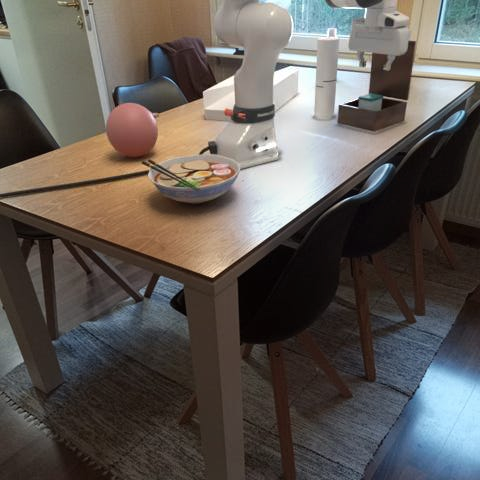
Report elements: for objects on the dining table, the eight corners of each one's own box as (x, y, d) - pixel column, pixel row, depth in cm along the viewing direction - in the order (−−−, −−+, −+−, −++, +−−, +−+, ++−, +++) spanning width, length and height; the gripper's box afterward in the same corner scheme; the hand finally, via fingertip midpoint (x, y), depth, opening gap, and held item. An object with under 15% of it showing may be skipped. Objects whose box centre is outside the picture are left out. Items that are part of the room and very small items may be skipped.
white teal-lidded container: (368, 126, 163) (371, 99, 158) (356, 123, 166) (358, 96, 161) (380, 122, 166) (383, 95, 161) (367, 119, 169) (370, 93, 164)
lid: (414, 41, 151) (423, 38, 153) (373, 37, 161) (381, 35, 163) (406, 100, 162) (414, 97, 164) (368, 93, 172) (376, 90, 174)
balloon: (181, 148, 156) (175, 97, 147) (135, 167, 144) (126, 113, 134) (147, 141, 164) (139, 92, 154) (101, 159, 151) (90, 106, 142)
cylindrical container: (333, 120, 173) (338, 40, 158) (313, 119, 175) (316, 40, 159) (334, 114, 179) (339, 36, 164) (314, 114, 180) (318, 37, 165)
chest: (374, 134, 158) (377, 112, 154) (337, 125, 168) (338, 104, 164) (404, 122, 167) (407, 101, 163) (366, 115, 176) (369, 95, 172)
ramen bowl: (262, 200, 120) (262, 168, 115) (182, 228, 110) (178, 194, 105) (208, 173, 137) (206, 144, 132) (135, 195, 127) (129, 164, 122)
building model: (249, 91, 215) (249, 67, 209) (297, 93, 207) (298, 68, 201) (205, 119, 182) (202, 91, 176) (260, 122, 175) (259, 94, 169)
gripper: (345, 17, 152) (342, 66, 161) (402, 21, 140) (395, 74, 148) (358, 15, 156) (354, 63, 164) (414, 18, 143) (407, 70, 151)
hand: (374, 68), depth 156 cm, fingers open, 8 cm apart
